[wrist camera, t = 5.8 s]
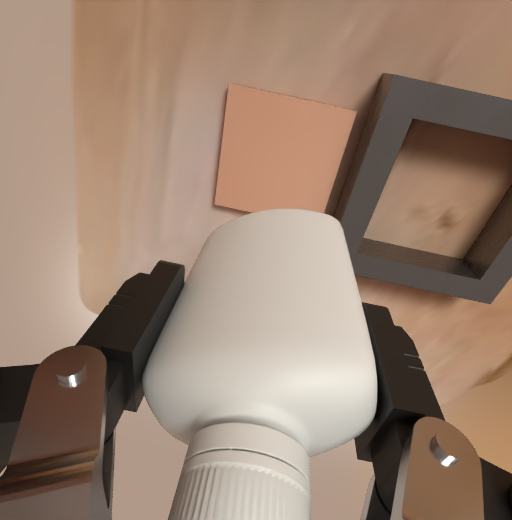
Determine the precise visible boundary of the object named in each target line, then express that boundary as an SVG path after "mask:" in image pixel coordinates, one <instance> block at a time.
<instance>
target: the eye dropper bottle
mask: <svg viewBox="0 0 512 520" xmlns="http://www.w3.org/2000/svg"><path fill="white" fill-rule="evenodd" d="M142 382H143V391H144V395H145V397H146V400H147V403H148V405H149V407H150V408H151V410H152V412H153V414H154V415H155V417H156V418H157V420H158V421H159V423H160V424H161V425H162V427H163V428H164V429H165V430H166V431H167V432H169V433H170V434H171V435H172V436H173V437H175V438H176V439H178V440H180V441H182V442H184V443H185V444H187V445H189V447H188V450H187V454H186V457H185V461H184V464H183V468H182V471H181V475H180V479H179V482H178V486H177V490H176V493H175V496H174V500H173V503H172V507H171V511H170V514H169V518H168V520H311V503H310V502H311V500H310V462H309V457H312V456H315V455H318V454H321V453H323V452H326V451H329V450H331V449H333V448H336V447H338V446H340V445H343V444H345V443H347V442H348V441H350V440H352V439H354V438H355V437H357V436H358V435H360V434H361V433H362V432H364V431H365V430H366V429H367V427H368V426H369V425H370V423H371V422H372V420H373V419H374V416H375V414H376V407H377V374H376V365H375V358H374V354H373V349H372V345H371V340H370V336H369V331H368V327H367V323H366V319H365V315H364V311H363V307H362V303H361V299H360V295H359V291H358V287H357V283H356V279H355V275H354V271H353V267H352V263H351V259H350V255H349V251H348V247H347V243H346V240H345V236H344V232H343V229H342V226H341V224H340V222H339V221H338V220H337V219H335V218H334V217H332V216H330V215H327V214H324V213H320V212H316V211H310V210H303V209H270V210H263V211H258V212H254V213H250V214H247V215H244V216H241V217H238V218H236V219H234V220H231V221H229V222H227V223H226V224H224V225H222V226H220V227H219V228H217V229H216V230H214V231H213V232H212V233H211V234H210V236H209V237H208V238H207V240H206V242H205V244H204V246H203V248H202V250H201V252H200V254H199V256H198V258H197V260H196V262H195V264H194V266H193V268H192V270H191V271H190V273H189V275H188V277H187V279H186V281H185V283H184V287H183V289H182V291H181V293H180V295H179V297H178V299H177V301H176V303H175V305H174V307H173V309H172V311H171V313H170V315H169V317H168V319H167V321H166V323H165V325H164V327H163V329H162V331H161V333H160V336H159V338H158V340H157V342H156V344H155V346H154V348H153V350H152V352H151V354H150V357H149V359H148V361H147V364H146V366H145V369H144V371H143V378H142Z"/></svg>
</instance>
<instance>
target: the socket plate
mask: <svg viewBox="0 0 512 520" xmlns="http://www.w3.org/2000/svg"><path fill="white" fill-rule="evenodd" d="M413 118H414V119H418V120H423V121H427V122H432V123H437V124H441V125H446V126H450V127H455V128H460V129H464V130H469V131H473V132H478V133H483V134H487V135H492V136H496V137H501V138H506V139H510V140H512V100H509V99H504V98H500V97H495V96H490V95H486V94H481V93H477V92H472V91H467V90H463V89H458V88H454V87H449V86H444V85H440V84H435V83H431V82H426V81H421V80H417V79H412V78H408V77H403V76H398V75H394V74H387V73H383V75H382V78H381V81H380V84H379V86H378V89H377V92H376V95H375V98H374V101H373V104H372V107H371V110H370V112H369V115H368V118H367V121H366V124H365V127H364V130H363V133H362V136H361V138H360V141H359V144H358V147H357V150H356V153H355V156H354V159H353V162H352V164H351V167H350V170H349V173H348V176H347V179H346V182H345V185H344V187H343V190H342V193H341V196H340V199H339V202H338V205H337V208H336V211H335V213H334V216H333V217H334V218H335V219H337V220H338V221H339V222H340V224H341V226H342V229H343V232H344V236H345V240H346V243H347V247H348V251H349V255H350V259H351V263H352V267H353V271H354V275H358V276H362V277H367V278H371V279H376V280H381V281H385V282H390V283H395V284H399V285H404V286H408V287H413V288H418V289H422V290H427V291H432V292H436V293H441V294H445V295H450V296H455V297H459V298H464V299H468V300H473V301H478V302H482V303H487V304H491V303H492V301H493V300H494V299H495V297H496V296H497V295H498V294H499V292H500V291H501V290H502V288H503V287H504V286H505V285H506V283H507V282H508V281H509V279H510V278H511V277H512V186H511V187H510V189H509V190H508V192H507V194H506V195H505V197H504V198H503V200H502V201H501V203H500V204H499V206H498V207H497V209H496V211H495V212H494V214H493V215H492V217H491V218H490V220H489V221H488V223H487V224H486V226H485V228H484V229H483V231H482V232H481V234H480V235H479V237H478V238H477V240H476V241H475V243H474V245H473V246H472V248H471V249H470V251H469V252H468V254H467V255H466V257H465V258H464V260H462V259H457V258H453V257H448V256H444V255H439V254H434V253H430V252H425V251H421V250H416V249H411V248H407V247H402V246H397V245H393V244H388V243H384V242H379V241H374V240H370V239H365V238H363V236H364V234H365V231H366V229H367V227H368V224H369V222H370V219H371V217H372V215H373V212H374V210H375V207H376V205H377V203H378V200H379V198H380V195H381V193H382V191H383V188H384V186H385V184H386V181H387V179H388V176H389V174H390V172H391V169H392V167H393V164H394V162H395V160H396V157H397V155H398V153H399V150H400V148H401V145H402V143H403V141H404V138H405V136H406V133H407V131H408V129H409V126H410V124H411V122H412V119H413Z"/></svg>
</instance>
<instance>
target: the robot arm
mask: <svg viewBox="0 0 512 520" xmlns="http://www.w3.org/2000/svg"><path fill="white" fill-rule="evenodd" d="M184 274H185V267H184V265H181V264H176V263H171V262H166V261H162V260H160V261H159V262H158V263H157V265H156V266H155V267H154V269H153V270H152V272H151V273H150V275H149V274H145V273H138V274H136V275H135V276H133V277H131V278H130V279H128V280H126V281H125V282H124V284H123V285H122V286H121V288H120V289H119V290H118V291H117V293H116V295H114V297H113V298H112V299H111V300H110V302H109V305H107V306H106V307H105V308H104V309H103V311H102V312H101V313H100V315H99V316H98V317H97V319H96V320H95V321H94V322H93V324H92V325H91V326H90V328H89V329H88V330H87V331H86V333H85V334H84V335H83V337H82V338H81V339H80V340H79V342H78V343H77V344H76V345H75V346H70V347H66V348H63V349H61V350H58V351H56V352H54V353H53V354H51V355H49V356H48V357H47V358H46V359H44V360H43V361H42V362H41V363H40V364H34V365H24V366H10V367H0V473H1V472H2V470H3V469H4V468H5V467H6V466H7V468H6V470H5V472H4V473H3V475H2V476H1V477H0V520H112V498H113V477H114V456H115V435H116V429H115V428H116V425H117V423H118V421H119V419H120V417H121V415H122V413H123V411H124V410H128V411H133V412H137V410H138V407H139V405H140V403H141V401H142V399H143V396H144V391H143V382H142V378H143V371H144V369H145V366H146V364H147V361H148V359H149V357H150V354H151V352H152V350H153V348H154V346H155V344H156V342H157V340H158V338H159V336H160V333H161V331H162V329H163V327H164V325H165V323H166V321H167V319H168V317H169V315H170V313H171V311H172V309H173V307H174V305H175V303H176V301H177V299H178V297H179V295H180V293H181V291H182V289H183V287H184ZM362 307H363V311H364V315H365V319H366V323H367V327H368V331H369V336H370V340H371V345H372V349H373V354H374V358H375V365H376V374H377V407H376V414H375V416H374V419H373V420H372V422H371V423H370V425H369V426H368V427H367V429H366V430H365V431H364V432H362V433H361V434H360V435H358V436H357V437H355V438H354V439H355V445H356V452H357V459H359V460H364V461H369V462H372V463H373V468H374V475H373V476H372V478H371V479H370V482H369V485H368V489H367V493H366V498H365V502H364V506H363V510H362V514H361V519H360V520H512V474H511V473H509V472H507V471H505V470H503V469H501V468H499V467H497V466H495V465H493V464H491V463H489V462H487V461H485V460H484V459H482V458H480V457H479V456H478V454H477V452H476V450H475V448H474V447H473V445H472V444H471V442H470V441H469V440H468V439H467V437H466V436H465V435H464V434H463V433H462V432H460V431H459V430H458V429H457V428H456V427H454V426H453V425H451V424H450V423H448V422H446V421H445V419H444V417H443V414H442V412H441V409H440V406H439V404H438V402H437V399H436V397H435V394H434V392H433V389H432V387H431V384H430V382H429V379H428V377H427V374H426V372H425V371H424V367H423V364H422V362H421V359H420V358H419V355H418V352H417V350H416V347H415V345H414V342H413V340H412V339H411V338H410V337H409V336H408V334H407V333H406V332H405V331H404V330H403V328H402V327H400V326H395V325H394V323H393V321H392V318H391V315H390V312H389V310H388V308H387V307H383V306H378V305H373V304H368V303H364V302H362Z"/></svg>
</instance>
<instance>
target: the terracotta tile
mask: <svg viewBox="0 0 512 520" xmlns="http://www.w3.org/2000/svg"><path fill="white" fill-rule="evenodd" d="M356 114H357V111H356V110H352V109H347V108H343V107H338V106H333V105H329V104H324V103H320V102H315V101H310V100H306V99H301V98H297V97H292V96H287V95H283V94H278V93H274V92H269V91H264V90H260V89H255V88H251V87H246V86H241V85H237V84H232V83H230V84H229V85H228V94H227V102H226V111H225V119H224V128H223V136H222V145H221V153H220V162H219V170H218V179H217V187H216V196H215V205H219V206H224V207H229V208H233V209H238V210H243V211H247V212H252V213H254V212H258V211H263V210H270V209H303V210H310V211H316V212H320V213H324V212H325V209H326V206H327V203H328V199H329V196H330V193H331V190H332V187H333V184H334V181H335V178H336V175H337V172H338V169H339V166H340V163H341V160H342V157H343V154H344V150H345V147H346V144H347V141H348V138H349V135H350V132H351V129H352V126H353V123H354V120H355V117H356Z"/></svg>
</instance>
